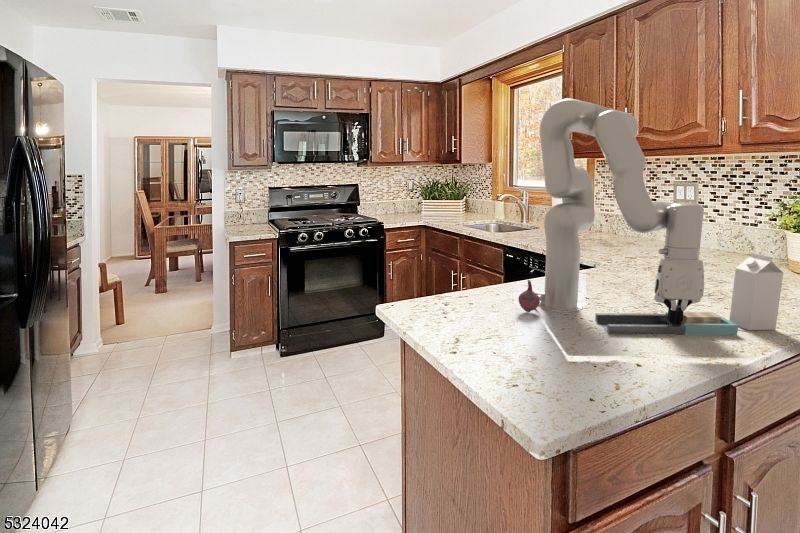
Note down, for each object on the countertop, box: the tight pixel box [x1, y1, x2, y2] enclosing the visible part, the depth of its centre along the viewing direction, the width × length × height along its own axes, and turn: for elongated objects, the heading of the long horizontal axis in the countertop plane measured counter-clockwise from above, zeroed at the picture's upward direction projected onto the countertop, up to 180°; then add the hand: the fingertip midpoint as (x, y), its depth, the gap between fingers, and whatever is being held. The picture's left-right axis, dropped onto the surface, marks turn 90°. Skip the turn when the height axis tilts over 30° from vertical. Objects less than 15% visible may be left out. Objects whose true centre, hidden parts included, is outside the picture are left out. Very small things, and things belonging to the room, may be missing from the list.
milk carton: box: [728, 252, 784, 331], centre depth 124 cm, size 7×7×19 cm
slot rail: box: [594, 312, 686, 336], centre depth 123 cm, size 18×11×3 cm, turn 85°
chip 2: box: [698, 312, 722, 324], centre depth 122 cm, size 4×4×4 cm
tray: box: [664, 311, 739, 336], centre depth 122 cm, size 12×11×4 cm
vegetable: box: [518, 279, 541, 313], centre depth 140 cm, size 6×6×10 cm
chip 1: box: [681, 313, 704, 325], centre depth 122 cm, size 4×4×4 cm
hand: (674, 324), depth 122 cm, fingers closed
